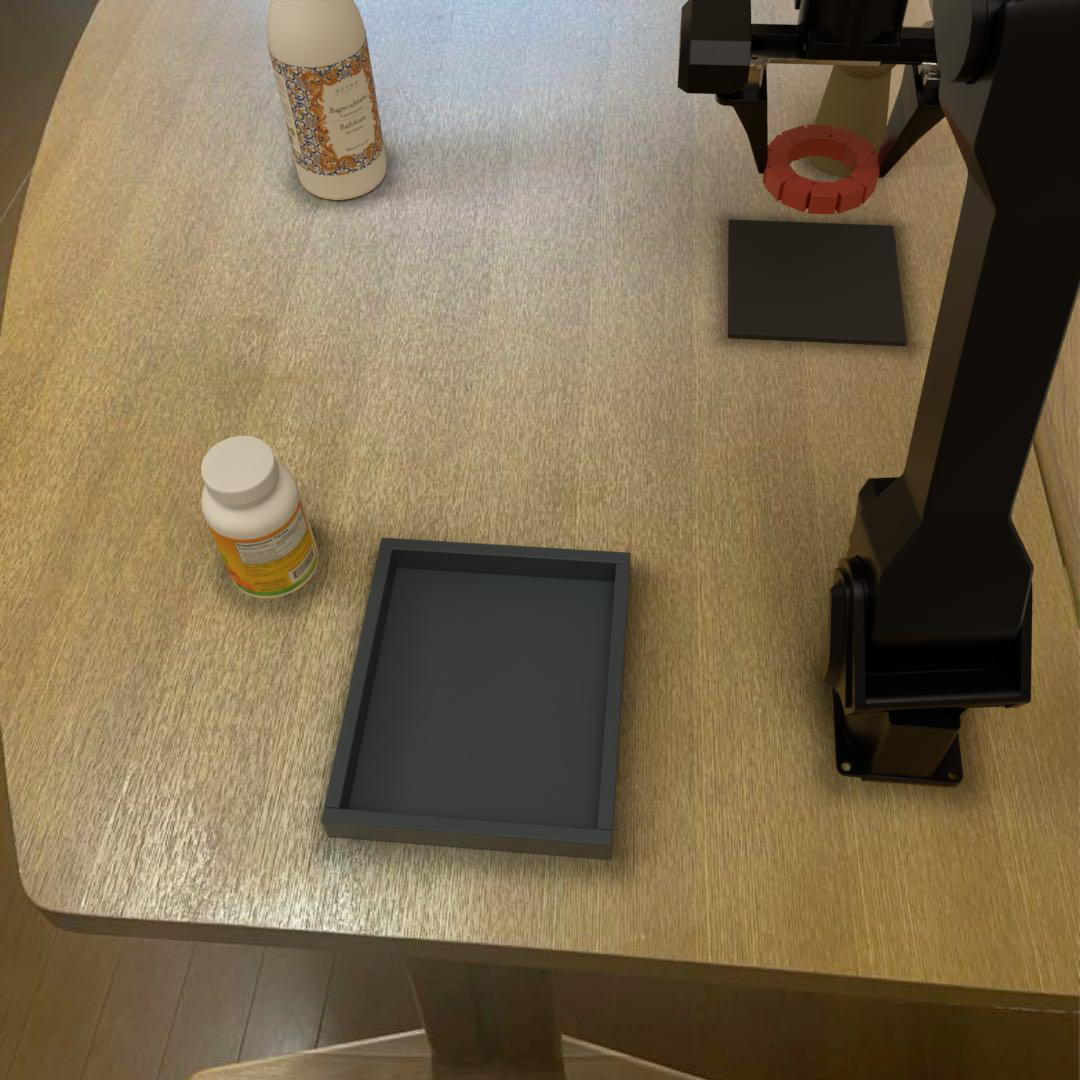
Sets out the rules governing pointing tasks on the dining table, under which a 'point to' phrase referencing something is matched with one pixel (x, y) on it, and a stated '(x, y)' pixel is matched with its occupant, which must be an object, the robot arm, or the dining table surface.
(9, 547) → the dining table surface
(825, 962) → the dining table surface
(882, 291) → the mat
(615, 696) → the tray
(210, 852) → the dining table surface
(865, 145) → the ring
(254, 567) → the supplement bottle
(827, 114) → the cork
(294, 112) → the bath foam
